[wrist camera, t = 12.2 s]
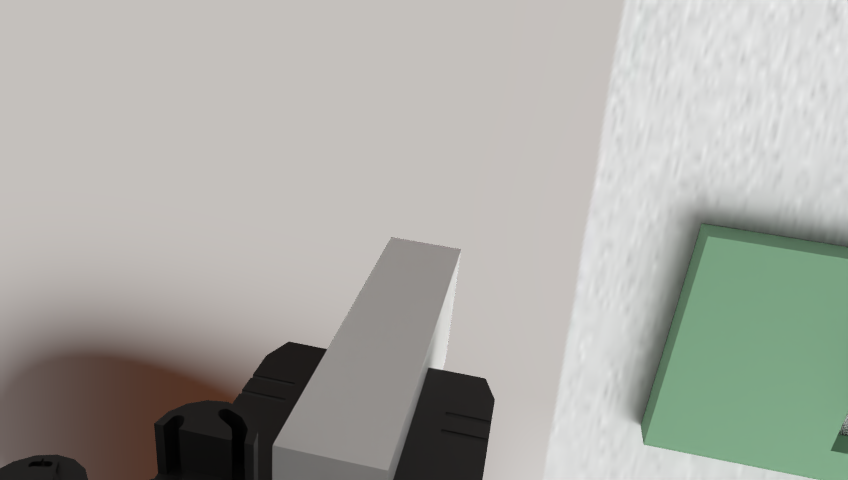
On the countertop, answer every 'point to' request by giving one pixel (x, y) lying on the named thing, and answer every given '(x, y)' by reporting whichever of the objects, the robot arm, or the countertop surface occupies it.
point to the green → (757, 356)
